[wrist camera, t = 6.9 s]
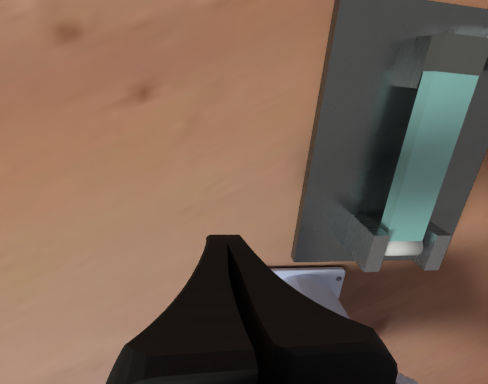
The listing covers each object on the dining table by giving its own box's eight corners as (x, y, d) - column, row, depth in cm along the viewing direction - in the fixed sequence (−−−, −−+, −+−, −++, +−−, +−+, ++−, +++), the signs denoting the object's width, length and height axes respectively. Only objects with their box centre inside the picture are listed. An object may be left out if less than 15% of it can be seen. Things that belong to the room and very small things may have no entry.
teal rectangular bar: (406, 247, 24) (420, 259, 22) (370, 248, 23) (382, 260, 22) (473, 40, 18) (497, 38, 17) (429, 35, 18) (450, 31, 16)
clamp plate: (436, 254, 27) (490, 296, 22) (290, 256, 25) (314, 304, 20) (527, 19, 20) (637, 3, 15) (336, -9, 18) (391, -39, 13)
